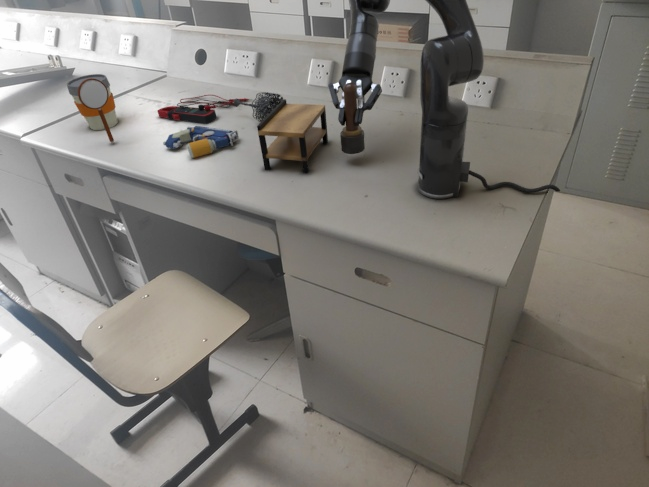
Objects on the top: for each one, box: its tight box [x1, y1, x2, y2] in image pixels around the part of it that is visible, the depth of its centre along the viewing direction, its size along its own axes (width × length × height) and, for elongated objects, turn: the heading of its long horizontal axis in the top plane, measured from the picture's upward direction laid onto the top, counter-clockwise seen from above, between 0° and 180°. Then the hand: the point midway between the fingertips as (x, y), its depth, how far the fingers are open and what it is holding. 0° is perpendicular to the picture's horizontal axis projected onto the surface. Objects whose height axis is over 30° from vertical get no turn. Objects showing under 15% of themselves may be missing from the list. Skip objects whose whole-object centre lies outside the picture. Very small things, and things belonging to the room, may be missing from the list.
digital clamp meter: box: [157, 94, 253, 125], centre depth 157 cm, size 23×4×25 cm
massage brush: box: [233, 91, 288, 123], centre depth 143 cm, size 9×22×9 cm, turn 56°
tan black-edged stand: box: [256, 98, 329, 174], centre depth 121 cm, size 12×18×12 cm, turn 162°
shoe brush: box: [339, 83, 366, 155], centre depth 112 cm, size 6×6×17 cm
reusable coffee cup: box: [66, 73, 118, 131], centre depth 150 cm, size 13×13×15 cm
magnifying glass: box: [78, 78, 115, 145], centre depth 135 cm, size 9×2×20 cm, turn 139°
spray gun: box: [162, 125, 240, 159], centre depth 133 cm, size 21×4×15 cm
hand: (349, 124), depth 111 cm, fingers closed on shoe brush, 3 cm apart
